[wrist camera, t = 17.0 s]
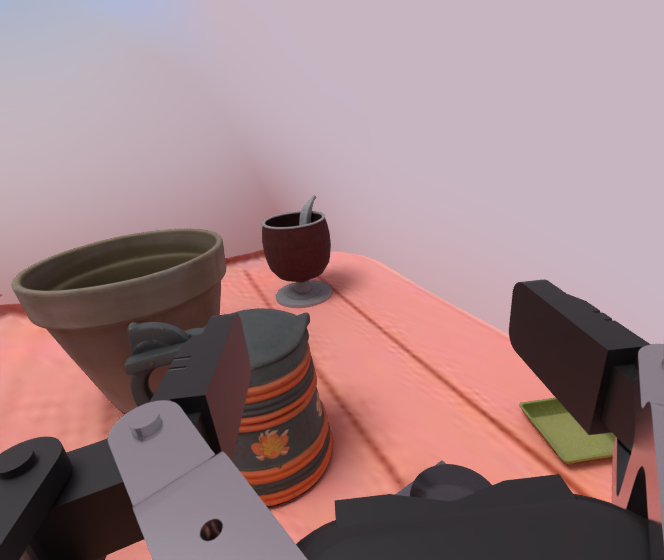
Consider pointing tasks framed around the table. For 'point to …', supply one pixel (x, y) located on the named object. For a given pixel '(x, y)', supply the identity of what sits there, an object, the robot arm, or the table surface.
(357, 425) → the table surface
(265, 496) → the beer stein
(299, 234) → the mate gourd
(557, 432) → the olive green shallow tray
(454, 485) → the glass jar with lid
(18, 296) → the plant pot
